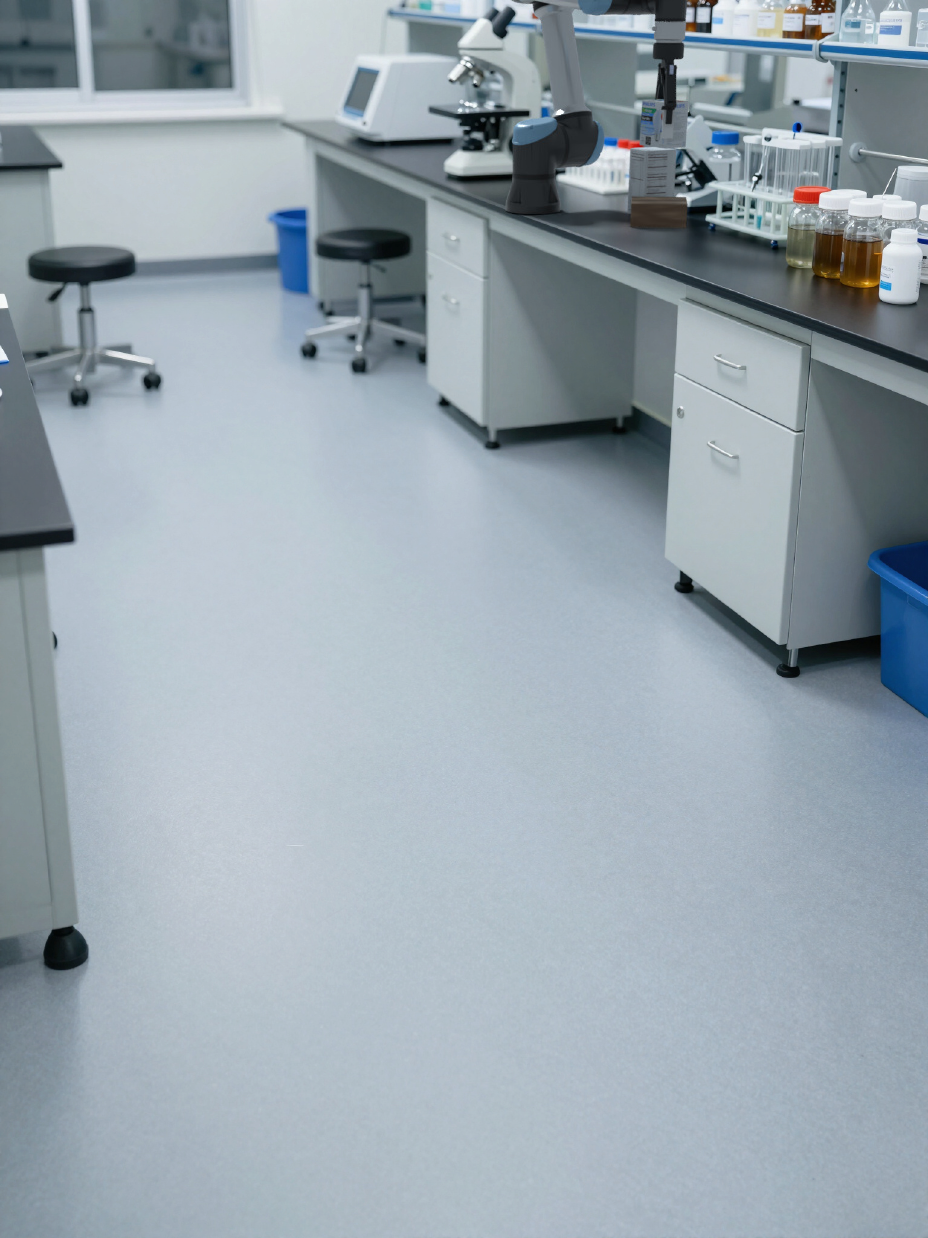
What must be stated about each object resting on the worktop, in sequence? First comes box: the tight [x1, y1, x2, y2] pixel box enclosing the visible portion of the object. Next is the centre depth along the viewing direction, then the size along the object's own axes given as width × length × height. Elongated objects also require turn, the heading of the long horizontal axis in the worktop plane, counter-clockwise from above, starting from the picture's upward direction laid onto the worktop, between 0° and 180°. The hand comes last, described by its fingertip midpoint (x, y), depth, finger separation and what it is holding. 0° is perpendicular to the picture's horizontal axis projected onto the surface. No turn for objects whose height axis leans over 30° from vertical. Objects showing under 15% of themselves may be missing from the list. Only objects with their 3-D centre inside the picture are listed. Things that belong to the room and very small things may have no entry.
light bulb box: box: [639, 99, 690, 149], centre depth 317 cm, size 11×7×11 cm, turn 32°
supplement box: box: [626, 146, 677, 215], centre depth 337 cm, size 10×9×17 cm
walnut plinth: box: [629, 196, 689, 229], centre depth 326 cm, size 14×14×6 cm
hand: (663, 135), depth 318 cm, fingers closed on light bulb box, 12 cm apart
